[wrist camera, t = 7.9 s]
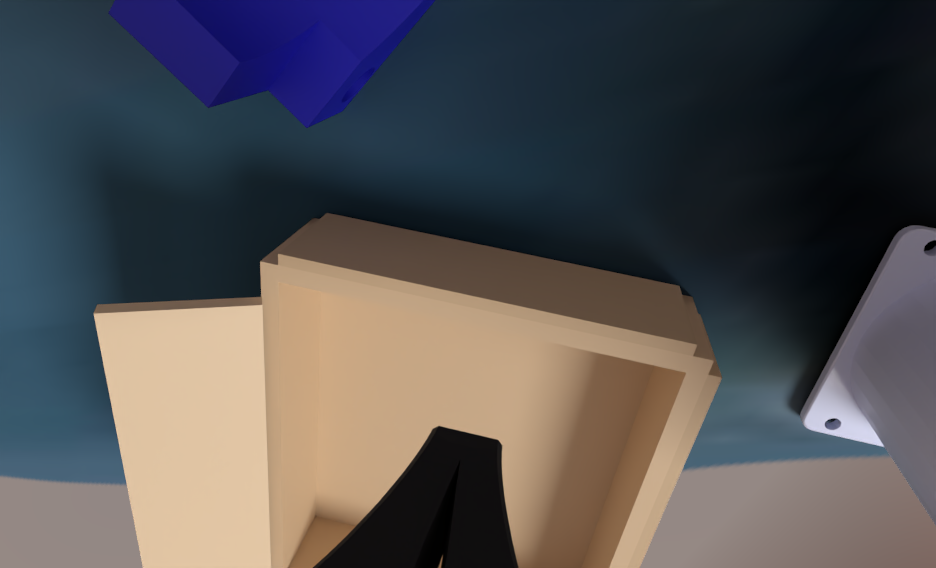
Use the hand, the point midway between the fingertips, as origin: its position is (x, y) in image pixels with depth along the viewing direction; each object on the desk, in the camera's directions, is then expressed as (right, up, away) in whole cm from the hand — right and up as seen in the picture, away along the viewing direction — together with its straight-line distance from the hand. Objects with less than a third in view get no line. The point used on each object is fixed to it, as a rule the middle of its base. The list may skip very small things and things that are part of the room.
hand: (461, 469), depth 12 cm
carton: (0, -2, +13) cm, 13 cm away
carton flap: (-9, -3, +9) cm, 13 cm away
